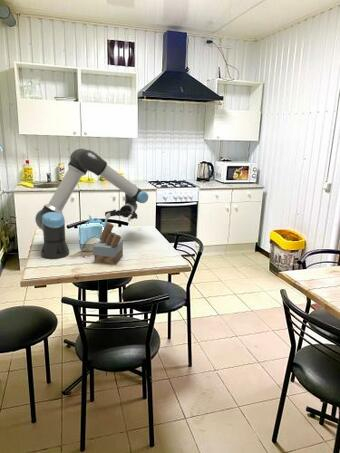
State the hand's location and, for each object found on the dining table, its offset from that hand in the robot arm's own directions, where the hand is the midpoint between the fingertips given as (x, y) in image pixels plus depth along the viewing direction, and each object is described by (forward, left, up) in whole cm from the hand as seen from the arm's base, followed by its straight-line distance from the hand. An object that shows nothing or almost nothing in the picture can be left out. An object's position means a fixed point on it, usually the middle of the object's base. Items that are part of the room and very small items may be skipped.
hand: (117, 218), depth 201 cm
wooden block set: (0, -15, -10) cm, 18 cm away
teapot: (-24, +33, -20) cm, 46 cm away
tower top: (-1, -16, -15) cm, 22 cm away
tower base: (0, -16, -20) cm, 25 cm away
